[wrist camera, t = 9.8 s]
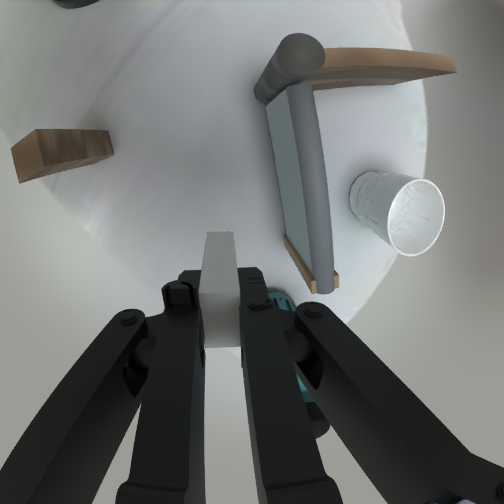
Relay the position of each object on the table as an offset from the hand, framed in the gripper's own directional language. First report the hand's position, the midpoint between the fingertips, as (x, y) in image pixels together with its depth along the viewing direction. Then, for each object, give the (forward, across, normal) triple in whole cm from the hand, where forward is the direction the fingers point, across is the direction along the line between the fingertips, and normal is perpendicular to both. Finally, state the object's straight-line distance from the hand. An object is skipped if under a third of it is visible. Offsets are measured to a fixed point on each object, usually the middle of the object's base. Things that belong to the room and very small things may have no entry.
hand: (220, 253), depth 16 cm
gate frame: (+16, +3, +12) cm, 20 cm away
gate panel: (+14, +7, +3) cm, 16 cm away
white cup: (+16, +19, 0) cm, 24 cm away
